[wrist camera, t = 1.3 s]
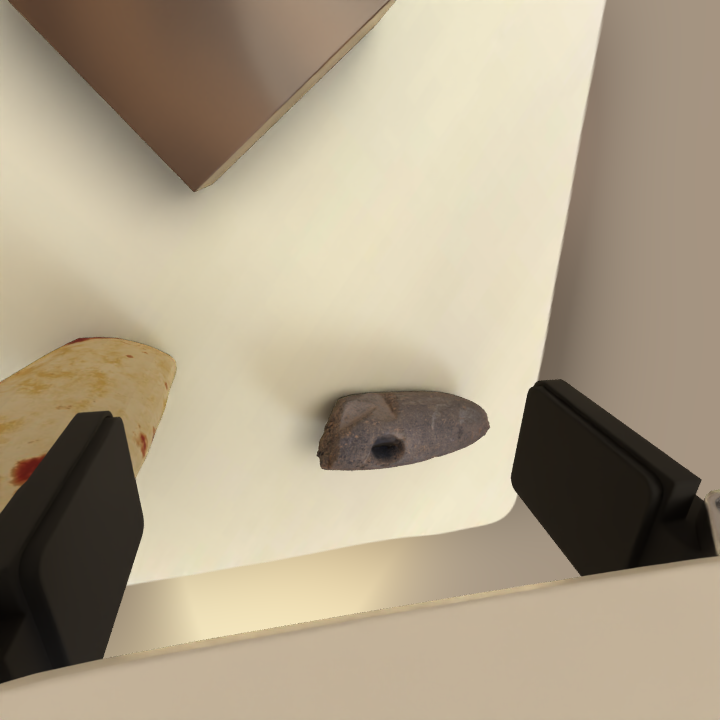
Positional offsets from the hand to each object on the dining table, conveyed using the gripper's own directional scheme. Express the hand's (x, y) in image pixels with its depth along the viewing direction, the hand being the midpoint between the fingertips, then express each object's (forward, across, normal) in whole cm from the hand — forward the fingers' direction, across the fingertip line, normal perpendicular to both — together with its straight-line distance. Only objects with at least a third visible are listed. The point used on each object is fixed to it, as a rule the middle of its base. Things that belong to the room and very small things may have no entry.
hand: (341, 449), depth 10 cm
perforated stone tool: (+25, -9, +14) cm, 30 cm away
